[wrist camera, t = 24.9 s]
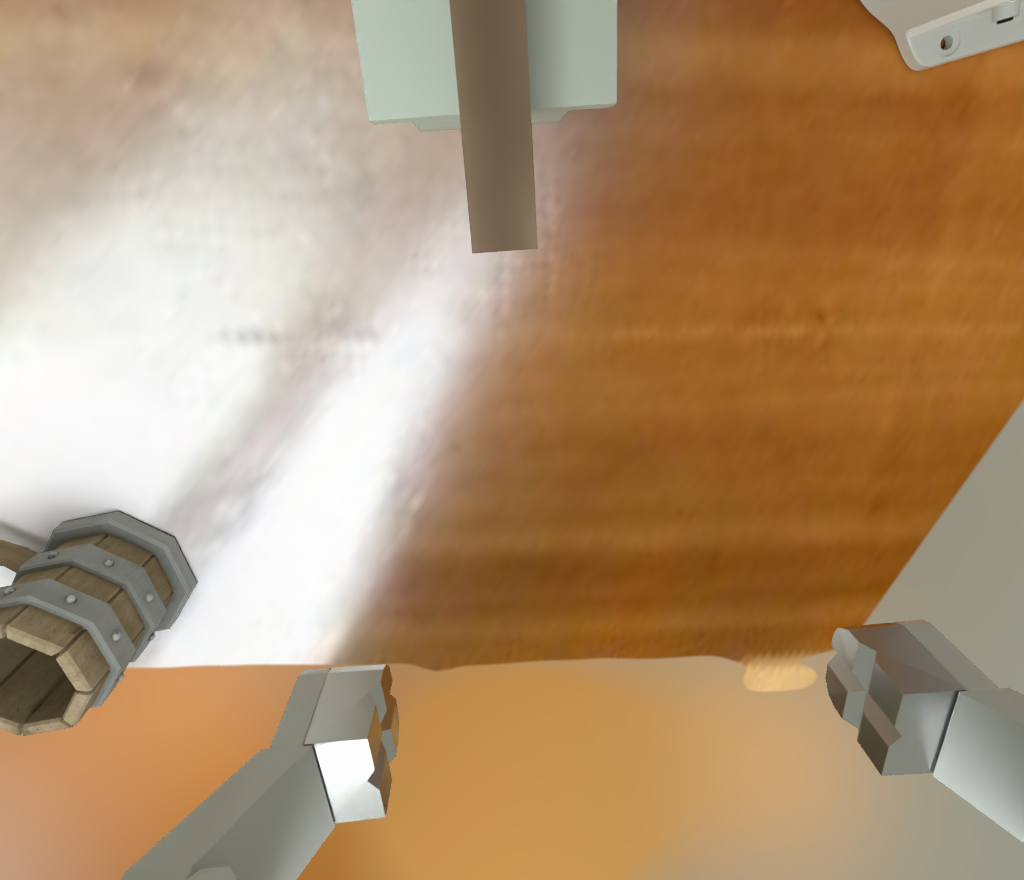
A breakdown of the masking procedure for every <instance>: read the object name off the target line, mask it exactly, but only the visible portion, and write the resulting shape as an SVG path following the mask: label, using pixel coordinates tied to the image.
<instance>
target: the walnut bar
mask: <svg viewBox="0 0 1024 880" xmlns="http://www.w3.org/2000/svg"><path fill="white" fill-rule="evenodd" d="M449 3H450V14H451V25H452V36H453V47H454V58H455V69H456V79H457V90H458V101H459V112H460V123H461V134H462V145H463V156H464V167H465V178H466V189H467V199H468V210H469V221H470V232H471V243H472V253H484V252H497V251H510V250H523V249H537V248H538V246H537V226H536V205H535V185H534V165H533V144H532V124H531V104H530V83H529V63H528V43H527V22H526V2H525V0H449Z"/></svg>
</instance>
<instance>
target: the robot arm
mask: <svg viewBox="0 0 1024 880" xmlns="http://www.w3.org/2000/svg"><path fill="white" fill-rule="evenodd" d="M860 1H861V2H862V4H863V5H864V6H865V7H866V9H867V10H868V11H869V12H870V13H871V14H872V15H873V16H874V17H876V18H877V19H878V20H879V21H880V22H882V23H883V24H884V25H885V26H886V27H887V28H888V29H889V30H890V31H891V32H892V34H893V35H894V37H895V40H896V43H897V45H898V48H899V50H900V53H901V55H902V57H903V59H904V61H905V63H906V64H907V65H908V67H909V68H911V69H912V70H915V71H921V70H925V69H929V68H932V67H936V66H939V65H943V64H946V63H950V62H953V61H956V60H960V59H963V58H967V57H970V56H974V55H977V54H980V53H984V52H987V51H991V50H994V49H998V48H1001V47H1004V46H1008V45H1011V44H1015V43H1018V42H1022V41H1024V0H860ZM942 39H944V40H945V47H944V49H943V50H942V49H941V46H940V44H941V41H942ZM831 645H832V646H833V648H834V649H835V650H836V651H837V653H838V654H837V655H836V656H835V657H834V658H833V659H832V660H831V661H830V662H829V663H828V664H827V672H826V683H827V688H828V693H829V696H830V698H831V701H832V703H833V705H834V707H835V709H836V710H837V711H838V713H839V715H840V716H841V718H842V719H844V720H845V721H847V722H848V723H850V724H852V725H853V726H855V727H856V728H858V738H857V741H858V743H859V744H860V745H861V747H862V748H863V750H864V751H865V753H866V754H867V756H868V757H869V758H870V760H871V761H872V763H873V764H874V766H875V767H876V769H877V770H878V771H879V773H880V774H881V776H886V775H904V774H922V773H933V776H934V777H935V778H936V779H938V780H939V781H941V782H942V783H943V784H945V785H946V786H947V787H949V788H950V789H951V790H953V791H954V792H955V793H957V794H958V795H959V796H961V797H962V798H964V799H965V800H966V801H968V802H969V803H970V804H972V805H973V806H974V807H976V808H977V809H978V810H980V811H981V812H983V813H984V814H985V815H987V816H988V817H990V818H991V819H992V820H994V821H995V822H996V823H997V824H999V825H1000V826H1002V827H1003V828H1004V829H1006V830H1007V831H1008V832H1010V833H1011V834H1012V835H1014V836H1015V837H1017V838H1018V839H1019V840H1021V841H1022V842H1023V843H1024V695H1023V694H1021V693H1019V692H1017V691H1014V690H1012V689H1010V688H999V687H998V686H997V685H996V684H995V683H993V682H992V681H991V680H990V679H989V678H988V677H987V676H986V675H985V674H984V673H983V672H982V671H981V670H980V669H979V668H978V667H977V666H976V665H974V664H973V663H972V662H971V661H970V660H969V659H968V658H967V657H966V656H965V655H964V654H963V653H962V652H961V651H960V650H959V649H958V648H957V647H955V646H954V645H953V644H952V643H951V642H950V641H949V640H948V639H947V638H946V637H945V636H944V635H943V634H942V633H941V632H940V631H938V629H937V628H935V627H934V626H933V625H932V624H931V623H929V622H927V621H925V620H914V621H903V622H894V623H883V624H872V625H861V626H850V627H839V628H838V629H837V630H836V631H835V633H834V634H833V639H832V644H831ZM391 686H392V676H391V672H390V668H389V666H388V665H369V666H351V667H334V668H329V669H309V670H304V671H303V672H302V673H301V674H300V675H299V677H298V679H297V681H296V684H295V686H294V689H293V691H292V694H291V696H290V699H289V702H288V704H287V706H286V709H285V711H284V714H283V716H282V719H281V721H280V724H279V726H278V729H277V731H276V734H275V736H274V739H273V741H272V744H271V746H270V749H262V750H260V751H259V752H258V753H256V754H255V755H254V756H253V757H252V758H251V759H250V760H249V761H248V762H246V763H245V764H244V765H243V766H242V767H241V768H240V769H239V770H238V771H237V772H236V773H235V774H233V775H232V776H231V777H230V778H229V779H228V780H227V781H225V782H224V783H223V784H222V785H221V786H220V787H219V788H218V789H217V790H216V791H214V792H213V793H212V794H211V795H210V796H209V797H208V798H207V799H206V800H204V801H203V802H202V803H201V804H200V805H199V806H198V807H197V808H196V809H194V810H193V811H192V812H191V813H190V814H189V815H188V816H187V817H186V818H185V819H183V820H182V821H181V822H180V823H179V824H178V825H177V826H176V827H175V828H173V829H172V830H171V831H170V832H169V833H168V834H167V835H166V836H165V837H163V838H162V839H161V840H160V841H159V842H158V843H157V844H156V845H155V846H154V847H153V848H151V849H150V850H149V851H148V852H147V853H146V854H145V855H144V856H142V857H141V858H140V859H139V860H138V861H137V862H136V863H135V864H134V865H132V867H130V868H129V869H128V870H127V871H126V872H125V873H124V875H123V877H122V879H121V880H296V879H297V878H298V877H299V875H300V874H301V872H302V871H303V870H304V868H305V867H306V866H307V864H308V863H309V861H310V860H311V859H312V857H313V856H314V854H315V853H316V852H317V850H318V849H319V848H320V846H321V845H322V844H323V842H324V840H325V839H326V838H327V837H328V835H329V834H330V833H331V831H332V830H333V828H334V827H335V825H334V823H341V822H350V821H358V820H367V819H375V818H385V817H386V812H387V807H388V800H389V795H390V789H391V783H392V777H391V772H390V767H389V763H390V762H391V761H392V760H393V759H394V757H395V756H396V753H397V746H398V735H399V734H398V733H399V716H398V707H397V701H396V699H395V698H394V697H393V696H392V695H390V691H391Z"/></svg>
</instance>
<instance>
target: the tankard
mask: <svg viewBox="0 0 1024 880" xmlns="http://www.w3.org/2000/svg"><path fill="white" fill-rule="evenodd" d="M0 566H5V567H7V568H9V569H11V570H12V571H14V572H16V573H17V574H16V576H15V579H14V581H13V583H12V585H11V586H6V587H1V588H0V729H2V730H5V731H8V732H11V733H13V734H16V735H21V734H22V733H23V736H26V735H31V734H37V733H43V732H48V731H54V730H59V729H65V728H70V727H73V726H74V725H76V724H77V723H78V722H79V721H80V719H81V718H82V717H83V716H84V714H85V713H86V712H87V710H88V709H89V708H92V707H97V706H101V705H102V704H103V702H104V701H105V700H106V699H107V697H108V696H109V695H110V693H111V692H112V691H113V689H114V688H115V687H116V685H117V684H118V682H119V681H121V680H122V679H123V678H124V674H123V672H124V671H125V669H126V667H127V665H128V663H129V662H134V661H136V659H137V658H138V657H139V656H140V654H141V653H142V652H143V650H144V649H145V648H146V646H147V645H148V643H149V642H150V641H151V640H153V639H154V637H155V634H154V633H155V631H159V630H165V629H170V627H171V626H172V625H173V623H174V622H175V621H176V619H177V618H178V616H179V614H180V612H181V610H182V609H183V607H184V605H185V603H186V601H187V600H188V598H189V596H190V594H191V593H192V591H193V589H194V587H195V585H196V584H197V582H196V580H195V578H194V576H193V574H192V572H191V570H190V568H189V566H188V564H187V562H186V560H185V558H184V556H183V554H182V552H181V550H180V548H179V546H178V544H177V542H176V540H175V538H174V537H172V536H170V535H167V534H165V533H163V532H161V531H159V530H157V529H155V528H153V527H151V526H148V525H146V524H144V523H142V522H140V521H138V520H136V519H134V518H131V517H129V516H127V515H125V514H123V513H121V512H119V511H117V512H112V513H107V514H102V515H97V516H92V517H87V518H81V519H76V520H71V521H66V522H63V523H62V524H60V525H59V526H58V527H56V528H55V529H54V530H53V533H52V535H51V537H50V539H49V542H48V544H47V546H46V549H45V551H44V552H42V553H36V552H34V551H32V550H30V549H28V548H26V547H23V546H20V545H16V544H13V543H10V542H7V541H3V540H0Z"/></svg>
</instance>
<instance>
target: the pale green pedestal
mask: <svg viewBox="0 0 1024 880" xmlns="http://www.w3.org/2000/svg"><path fill="white" fill-rule="evenodd" d="M525 2H526V22H527V43H528V63H529V83H530V104H531V124H533V123H546V122H559V121H560V120H561V118H562V117H563V116H564V115H565V114H566V113H567V112H568V111H571V110H585V109H598V108H611V107H612V106H614V105H615V104H616V103H617V0H525ZM351 3H352V10H353V17H354V24H355V31H356V38H357V44H358V51H359V58H360V65H361V72H362V79H363V86H364V93H365V99H366V106H367V113H368V120H369V121H370V122H371V123H373V124H374V125H376V124H390V123H404V122H412V123H413V124H414V125H415V126H416V127H417V128H418V129H419V130H420V131H421V132H422V131H436V130H450V129H461V123H460V112H459V101H458V90H457V79H456V69H455V58H454V47H453V36H452V25H451V14H450V3H449V0H351Z"/></svg>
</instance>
